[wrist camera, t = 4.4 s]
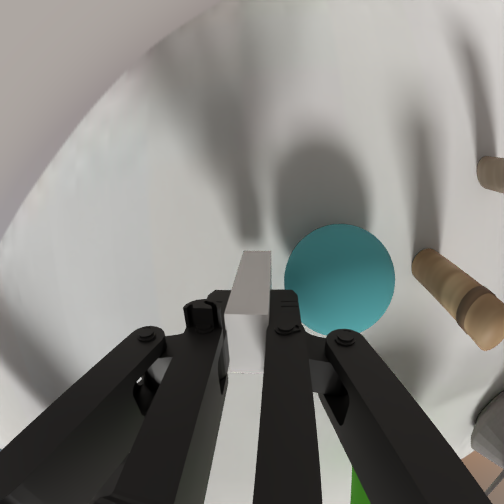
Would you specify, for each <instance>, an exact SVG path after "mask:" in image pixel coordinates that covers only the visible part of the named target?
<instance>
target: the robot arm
mask: <svg viewBox="0 0 504 504" xmlns="http://www.w3.org/2000/svg"><path fill="white" fill-rule="evenodd" d="M183 309H184V316H185V322H186V329H185V331H184V333H183V334H179V335H172V336H165V333H164V331H163V330H162V329H161V328H159V327H155V326H145V327H142V328H139V329H137V330H135V331H134V332H132V333H131V334H130V335H129V336H128V337H127V338H125V339H124V340H123V341H122V342H121V343H120V344H119V345H117V346H116V347H115V348H114V349H113V350H112V351H111V352H109V353H108V354H107V355H106V356H105V357H104V358H103V359H101V360H100V361H99V362H98V363H97V364H96V365H95V366H94V367H92V368H91V369H90V370H89V371H88V372H87V373H86V374H85V375H83V376H82V377H81V378H80V379H79V380H78V381H77V382H76V383H74V384H73V385H72V386H71V387H70V388H69V389H68V390H67V391H66V392H64V393H63V394H62V395H61V396H60V397H59V398H58V399H57V400H56V401H54V402H53V403H52V404H51V405H50V406H49V407H48V408H47V409H46V410H45V411H43V412H42V413H41V414H40V415H39V416H38V417H37V418H36V419H35V420H34V421H33V422H31V423H30V424H29V425H28V426H27V427H26V428H25V429H24V430H23V431H22V432H21V433H20V434H18V435H17V436H16V437H15V438H14V439H13V440H12V441H11V442H10V443H9V444H8V445H7V446H6V447H5V448H3V449H0V504H204V500H205V495H206V490H207V485H208V480H209V475H210V470H211V465H212V460H213V455H214V451H215V446H216V441H217V436H218V431H219V426H220V421H221V416H222V411H223V406H224V401H225V396H226V391H227V386H228V374H227V371H228V367H229V369H230V373H257V374H263V388H262V402H261V414H260V427H259V439H258V451H257V462H256V473H255V484H254V495H253V504H322V490H321V476H320V463H319V451H318V440H317V429H316V419H315V409H314V400H313V392H316V393H318V395H319V398H320V400H321V403H322V405H323V407H324V409H325V411H326V413H327V415H328V417H329V419H330V421H331V423H332V425H333V427H334V429H335V431H336V433H337V435H338V438H339V440H340V442H341V444H342V446H343V448H344V450H345V452H346V454H347V456H348V458H349V460H350V462H351V464H352V466H353V468H354V470H355V472H356V474H357V477H358V479H359V481H360V483H361V485H362V487H363V489H364V491H365V493H366V495H367V497H368V499H369V501H370V503H371V504H492V503H491V501H490V500H489V498H488V497H487V496H486V494H485V493H484V492H483V490H482V488H481V487H480V486H479V484H478V483H477V482H476V480H475V479H474V477H473V476H472V475H471V473H470V472H469V470H468V469H467V468H466V466H465V465H464V464H463V462H462V461H461V460H460V458H459V457H458V455H457V454H456V453H455V451H454V450H453V449H452V447H451V446H450V445H449V443H448V442H447V441H446V440H445V438H444V437H443V436H442V434H441V433H440V432H439V430H438V429H437V428H436V426H435V425H434V424H433V423H432V421H431V420H430V419H429V417H428V416H427V415H426V414H425V412H424V411H423V410H422V408H421V407H420V406H419V405H418V403H417V402H416V401H415V400H414V398H413V397H412V396H411V395H410V393H409V392H408V391H407V390H406V388H405V387H404V386H403V385H402V383H401V382H400V381H399V380H398V378H397V377H396V376H395V375H394V373H393V372H392V371H391V370H390V368H389V367H388V366H387V365H386V364H385V362H384V361H383V360H382V359H381V357H380V356H379V355H378V354H377V353H376V351H375V350H374V349H373V348H372V347H371V345H370V344H369V343H368V342H367V341H366V339H365V338H364V337H363V336H362V335H361V334H360V333H358V332H356V331H354V330H351V329H337V330H334V331H331V332H330V333H329V334H327V337H326V338H322V337H317V336H313V335H311V334H309V333H307V332H306V331H305V329H304V327H303V325H302V324H301V316H300V309H299V302H298V295H297V294H296V293H295V292H294V291H293V290H272V287H271V251H243V255H242V258H241V261H240V264H239V267H238V271H237V274H236V277H235V280H234V284H233V287H232V290H215V291H213V292H212V293H211V294H209V295H208V297H207V299H201V300H195V301H192V302H190V303H188V304H186V305H185V306H184V307H183ZM140 377H141V378H142V380H141V381H140V382H138V383H137V382H136V381H137V380H138V379H139V378H140ZM129 452H130V453H129Z"/></svg>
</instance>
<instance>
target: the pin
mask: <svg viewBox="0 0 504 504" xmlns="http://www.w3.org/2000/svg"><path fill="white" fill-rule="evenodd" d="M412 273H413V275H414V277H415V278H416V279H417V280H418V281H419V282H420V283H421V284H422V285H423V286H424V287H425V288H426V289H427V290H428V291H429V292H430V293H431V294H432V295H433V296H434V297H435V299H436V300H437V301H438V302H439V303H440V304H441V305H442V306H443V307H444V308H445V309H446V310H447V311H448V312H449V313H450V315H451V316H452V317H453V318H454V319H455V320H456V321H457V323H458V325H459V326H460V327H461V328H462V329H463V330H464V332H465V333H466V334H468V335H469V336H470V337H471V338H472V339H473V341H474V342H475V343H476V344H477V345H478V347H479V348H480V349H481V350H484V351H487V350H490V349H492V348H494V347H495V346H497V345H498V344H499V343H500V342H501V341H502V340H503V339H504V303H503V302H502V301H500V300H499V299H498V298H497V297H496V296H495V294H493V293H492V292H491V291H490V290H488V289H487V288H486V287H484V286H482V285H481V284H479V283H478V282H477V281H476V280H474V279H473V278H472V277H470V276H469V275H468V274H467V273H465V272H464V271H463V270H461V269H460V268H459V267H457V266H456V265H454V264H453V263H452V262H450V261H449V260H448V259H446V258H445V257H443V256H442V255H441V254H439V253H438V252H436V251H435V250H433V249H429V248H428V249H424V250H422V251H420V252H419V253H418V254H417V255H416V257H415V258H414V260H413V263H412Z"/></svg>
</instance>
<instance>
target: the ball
mask: <svg viewBox="0 0 504 504" xmlns="http://www.w3.org/2000/svg"><path fill="white" fill-rule="evenodd" d="M284 286H285V290H293V291H294V292H295V293H296V294H297V295H298V302H299V309H300V316H301V322H302V323H303V324H305V325H306V326H307V327H308V328H310V329H312V330H313V331H315V332H318V333H320V334H323V335H327V334H329V333H330V332H331V331H334V330H337V329H351V330H354V331H356V332H358V333H360V332H362V331H364V330H366V329H368V328H369V327H371V326H372V325H373V324H374V323H376V322H377V321H378V320H379V319H380V318H381V316H382V315H383V314H384V313H385V311H386V309H387V308H388V306H389V304H390V302H391V299H392V296H393V292H394V286H395V273H394V267H393V263H392V260H391V258H390V255H389V253H388V251H387V250H386V248H385V247H384V245H383V244H382V243H381V242H380V241H379V240H378V239H377V238H376V237H375V236H374V235H372V234H371V233H369V232H368V231H366V230H364V229H362V228H360V227H357V226H353V225H348V224H332V225H327V226H324V227H321V228H319V229H316V230H315V231H313V232H311V233H310V234H308V235H307V236H306V237H304V238H303V239H302V240H301V241H300V242H299V243H298V244H297V246H296V247H295V248H294V250H293V252H292V254H291V255H290V257H289V260H288V263H287V265H286V270H285V276H284Z"/></svg>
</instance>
